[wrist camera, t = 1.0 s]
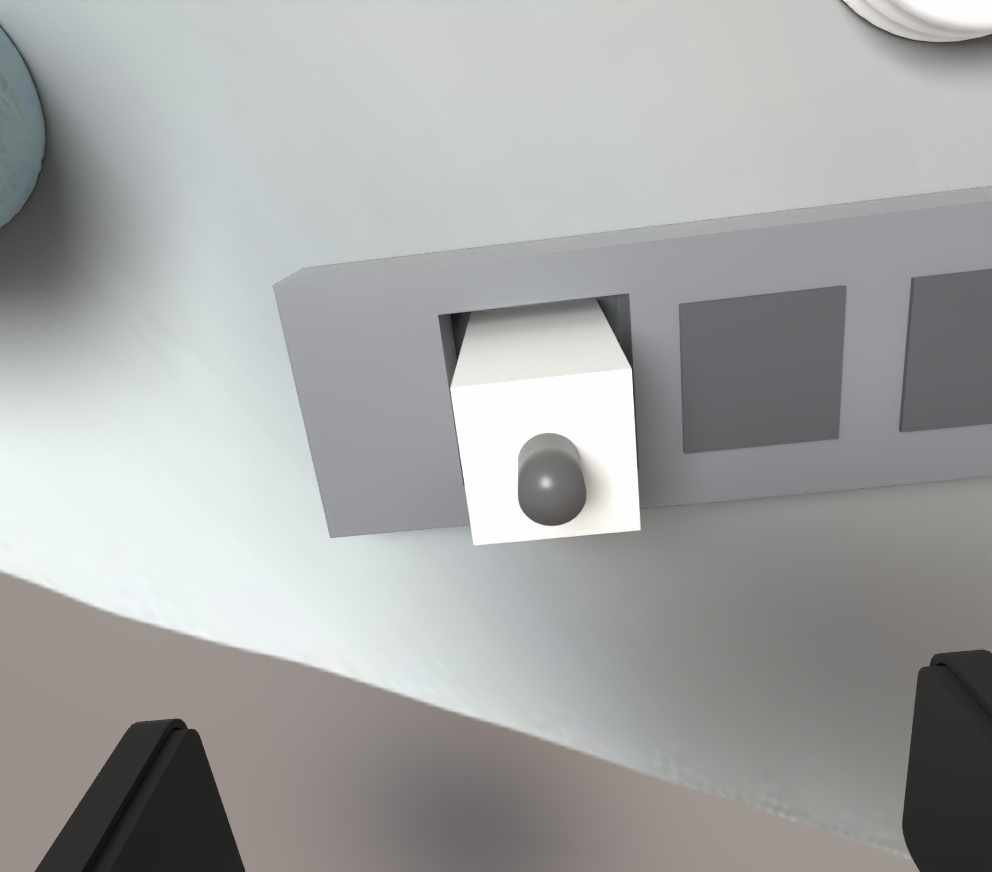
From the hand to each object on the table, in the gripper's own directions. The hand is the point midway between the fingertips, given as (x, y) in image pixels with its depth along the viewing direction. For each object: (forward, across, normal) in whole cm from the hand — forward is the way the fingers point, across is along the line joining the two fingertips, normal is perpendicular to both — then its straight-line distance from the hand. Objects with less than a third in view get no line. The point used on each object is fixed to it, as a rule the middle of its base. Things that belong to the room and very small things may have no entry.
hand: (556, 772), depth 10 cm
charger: (+19, 0, 0) cm, 19 cm away
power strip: (+19, -6, 0) cm, 20 cm away
